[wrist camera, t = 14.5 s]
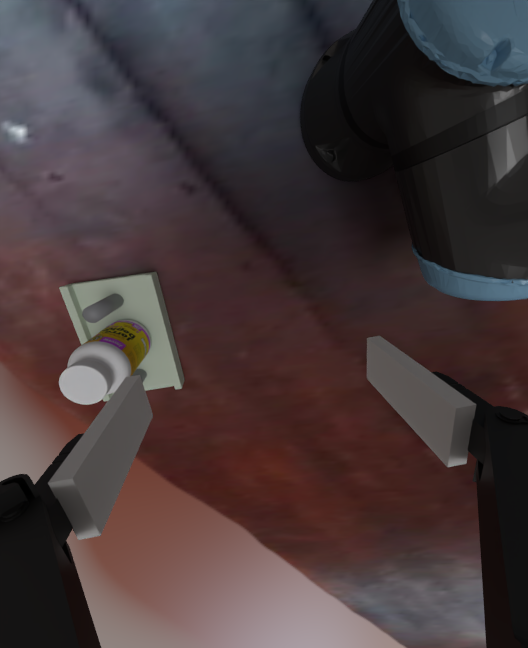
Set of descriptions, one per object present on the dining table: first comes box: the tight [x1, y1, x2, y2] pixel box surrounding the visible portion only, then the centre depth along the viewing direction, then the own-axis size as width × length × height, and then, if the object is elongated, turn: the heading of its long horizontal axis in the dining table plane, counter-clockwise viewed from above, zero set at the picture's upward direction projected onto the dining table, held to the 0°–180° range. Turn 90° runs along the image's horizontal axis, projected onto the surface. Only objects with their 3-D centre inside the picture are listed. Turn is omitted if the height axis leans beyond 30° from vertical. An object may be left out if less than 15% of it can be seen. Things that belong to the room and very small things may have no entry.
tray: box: [59, 272, 185, 401], centre depth 37 cm, size 18×12×8 cm, turn 7°
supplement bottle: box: [59, 320, 151, 405], centre depth 34 cm, size 7×7×13 cm
